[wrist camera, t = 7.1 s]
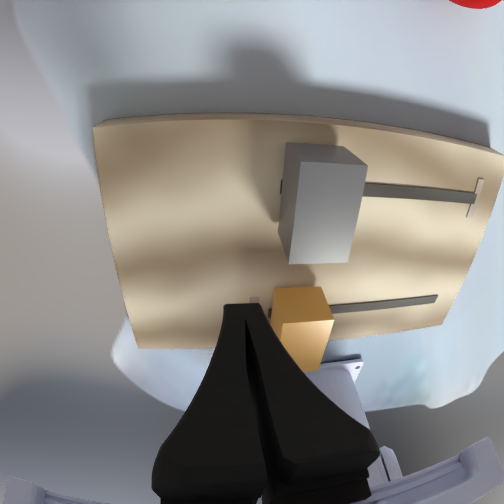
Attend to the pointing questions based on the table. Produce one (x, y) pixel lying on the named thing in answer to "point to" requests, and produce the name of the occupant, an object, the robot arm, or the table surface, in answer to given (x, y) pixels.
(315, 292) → the amber fader knob
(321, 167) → the charcoal fader knob
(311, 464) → the robot arm
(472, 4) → the molecular model
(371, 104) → the table surface
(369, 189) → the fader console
